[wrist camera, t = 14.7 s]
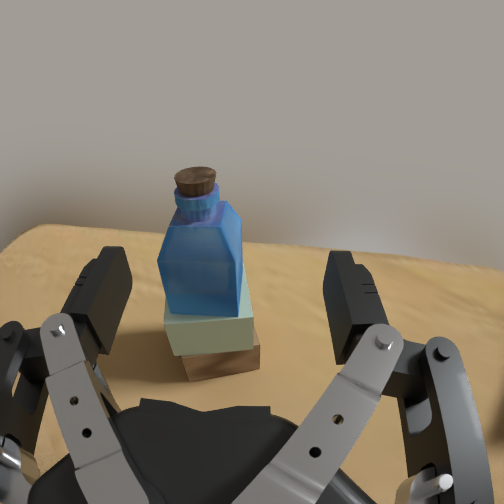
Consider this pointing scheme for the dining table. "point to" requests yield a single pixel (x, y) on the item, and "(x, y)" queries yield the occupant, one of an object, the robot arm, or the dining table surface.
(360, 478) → the dining table surface
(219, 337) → the tower top block
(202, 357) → the tower base block
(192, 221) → the perfume bottle
